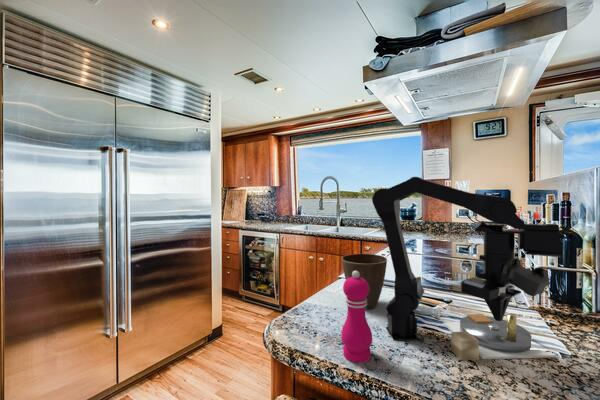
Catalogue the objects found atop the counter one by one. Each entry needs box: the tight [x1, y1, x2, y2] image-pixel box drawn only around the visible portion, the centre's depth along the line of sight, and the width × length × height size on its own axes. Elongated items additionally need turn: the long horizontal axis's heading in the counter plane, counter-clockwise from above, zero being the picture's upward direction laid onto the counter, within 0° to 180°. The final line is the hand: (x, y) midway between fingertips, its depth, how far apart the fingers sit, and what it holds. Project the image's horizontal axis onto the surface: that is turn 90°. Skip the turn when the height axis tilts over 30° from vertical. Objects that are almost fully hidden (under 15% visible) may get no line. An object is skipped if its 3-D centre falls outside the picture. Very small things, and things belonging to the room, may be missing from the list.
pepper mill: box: [340, 271, 373, 364], centre depth 66 cm, size 7×7×20 cm
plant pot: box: [341, 253, 388, 310], centre depth 95 cm, size 15×15×16 cm
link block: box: [450, 331, 480, 361], centre depth 65 cm, size 4×4×4 cm
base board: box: [442, 321, 558, 360], centre depth 72 cm, size 17×17×1 cm
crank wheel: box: [459, 313, 532, 352], centre depth 72 cm, size 15×15×8 cm
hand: (498, 320), depth 64 cm, fingers closed
